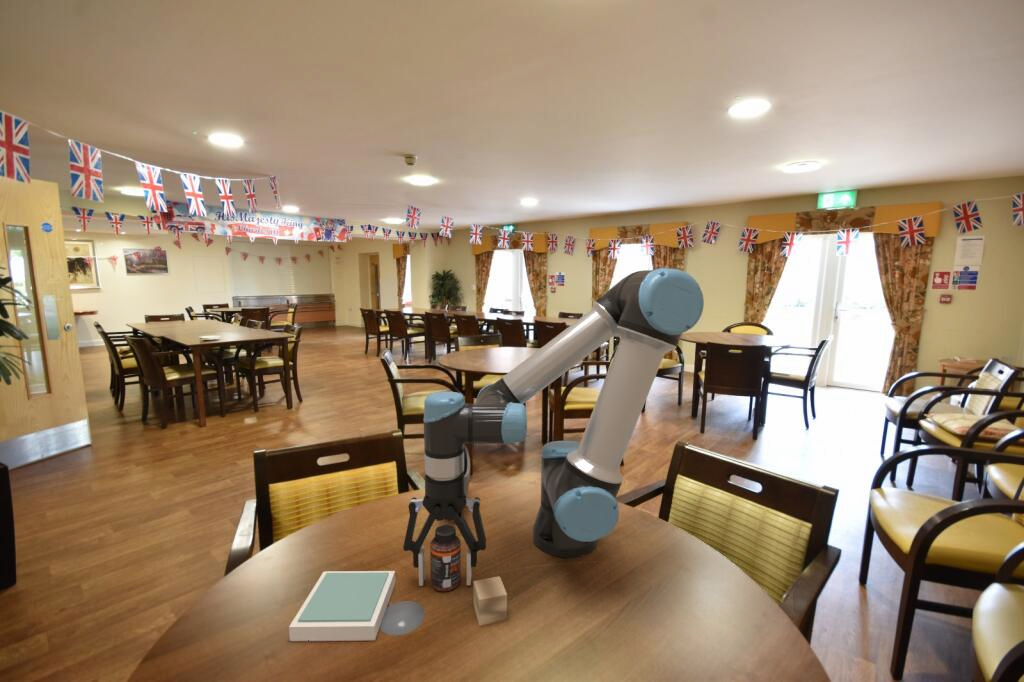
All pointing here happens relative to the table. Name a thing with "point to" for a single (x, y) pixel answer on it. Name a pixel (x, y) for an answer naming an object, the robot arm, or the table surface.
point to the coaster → (402, 618)
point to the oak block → (490, 600)
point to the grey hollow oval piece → (466, 470)
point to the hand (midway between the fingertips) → (445, 580)
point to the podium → (344, 607)
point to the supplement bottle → (445, 559)
